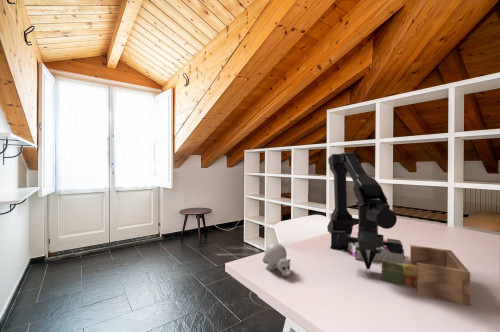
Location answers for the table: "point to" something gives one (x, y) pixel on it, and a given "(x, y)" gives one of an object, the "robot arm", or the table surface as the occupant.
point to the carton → (399, 273)
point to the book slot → (440, 274)
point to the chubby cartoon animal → (277, 259)
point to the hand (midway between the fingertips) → (368, 268)
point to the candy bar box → (378, 254)
